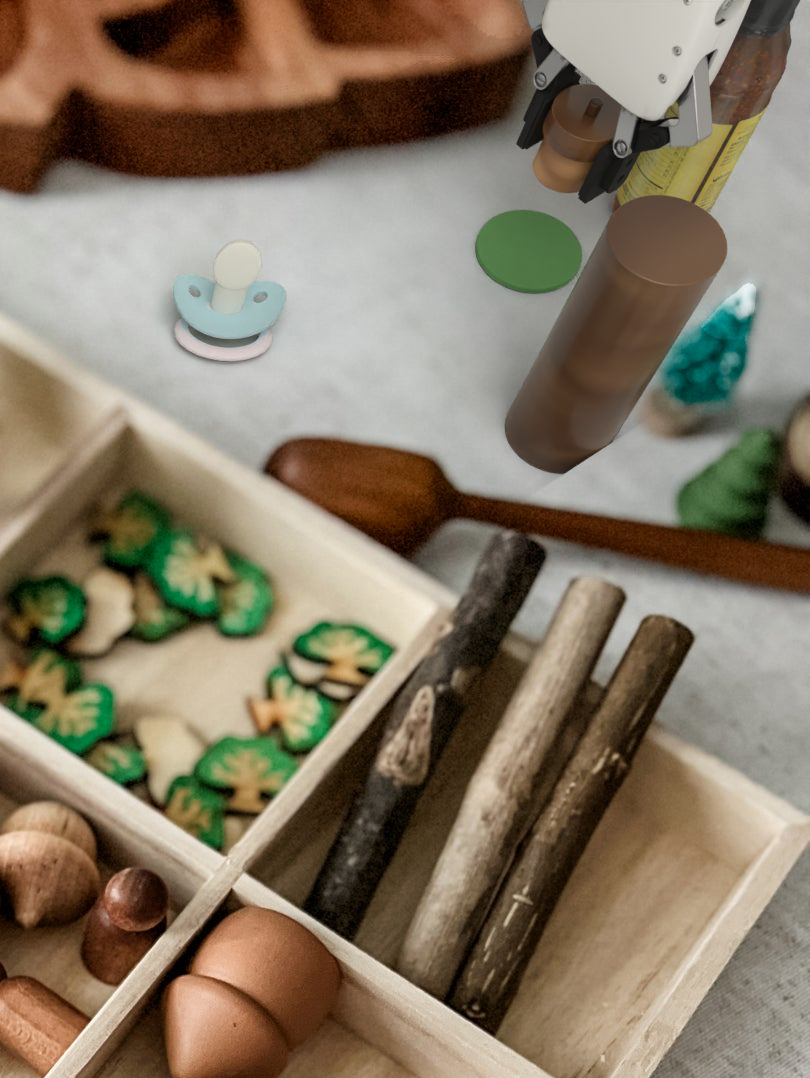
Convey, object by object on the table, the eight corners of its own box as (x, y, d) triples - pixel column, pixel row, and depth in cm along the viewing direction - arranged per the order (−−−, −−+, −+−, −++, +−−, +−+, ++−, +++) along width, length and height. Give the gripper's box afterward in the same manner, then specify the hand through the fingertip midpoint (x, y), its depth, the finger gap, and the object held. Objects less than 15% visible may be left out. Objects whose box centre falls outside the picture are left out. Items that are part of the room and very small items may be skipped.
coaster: (602, 262, 114) (604, 257, 113) (526, 309, 112) (528, 305, 112) (528, 198, 116) (530, 194, 116) (453, 244, 114) (455, 239, 114)
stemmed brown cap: (617, 176, 108) (653, 107, 103) (562, 210, 107) (596, 142, 102) (564, 131, 109) (597, 61, 104) (510, 163, 108) (540, 94, 103)
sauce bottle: (686, 180, 116) (842, -97, 98) (709, 249, 114) (873, -21, 96) (592, 185, 116) (730, -91, 98) (613, 255, 114) (759, -15, 96)
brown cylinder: (630, 441, 108) (753, 249, 93) (555, 491, 107) (668, 303, 92) (557, 375, 110) (666, 176, 95) (483, 423, 109) (581, 229, 94)
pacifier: (275, 372, 111) (279, 299, 113) (298, 304, 105) (301, 228, 107) (163, 361, 111) (169, 289, 113) (180, 293, 105) (186, 218, 107)
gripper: (869, -49, 89) (705, 221, 106) (636, -224, 94) (516, 60, 111) (769, 11, 87) (619, 276, 104) (538, -170, 92) (431, 110, 109)
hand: (567, 162), depth 107 cm, fingers closed on stemmed brown cap, 4 cm apart
